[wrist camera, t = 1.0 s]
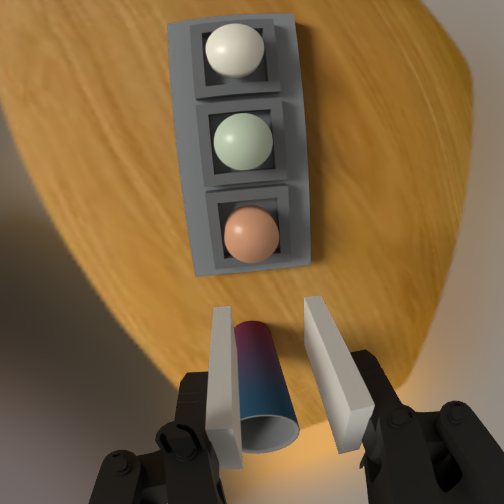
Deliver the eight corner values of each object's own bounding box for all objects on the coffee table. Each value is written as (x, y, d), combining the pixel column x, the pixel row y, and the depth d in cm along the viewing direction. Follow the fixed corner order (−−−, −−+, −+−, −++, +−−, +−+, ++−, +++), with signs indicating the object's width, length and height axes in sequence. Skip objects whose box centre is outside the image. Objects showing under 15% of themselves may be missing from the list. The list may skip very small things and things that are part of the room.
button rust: (222, 207, 27) (221, 214, 24) (273, 202, 27) (277, 208, 24) (228, 254, 28) (227, 265, 26) (276, 250, 28) (280, 260, 26)
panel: (171, 30, 23) (163, 18, 20) (289, 20, 23) (296, 8, 20) (197, 268, 32) (194, 283, 29) (306, 257, 33) (314, 271, 30)
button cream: (206, 35, 21) (203, 26, 18) (259, 31, 21) (261, 22, 18) (209, 81, 22) (207, 76, 20) (263, 76, 22) (266, 71, 20)
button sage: (213, 118, 24) (211, 116, 21) (266, 113, 24) (270, 111, 21) (218, 169, 25) (216, 173, 23) (271, 164, 25) (274, 167, 23)
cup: (284, 319, 36) (311, 416, 22) (269, 360, 38) (285, 454, 24) (229, 309, 35) (231, 410, 21) (218, 352, 37) (216, 450, 23)
